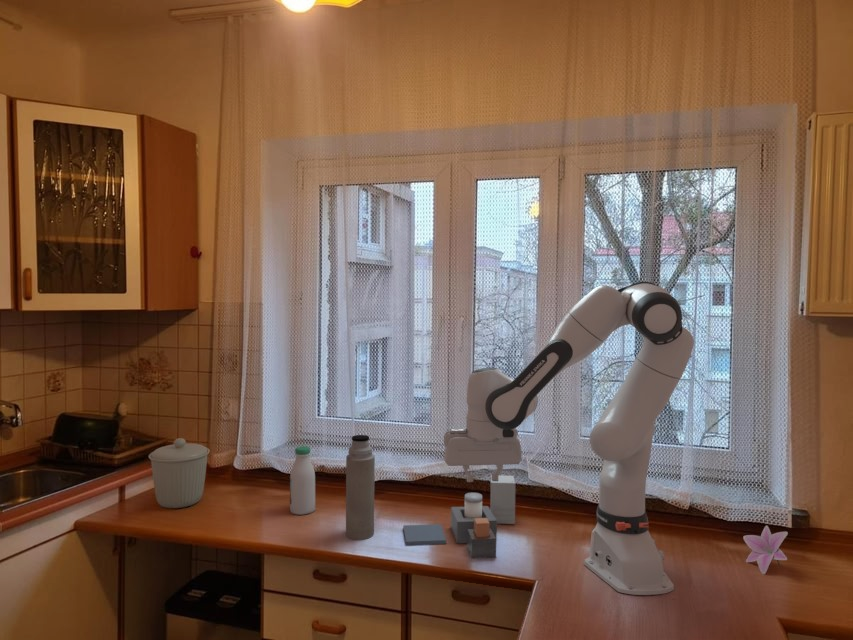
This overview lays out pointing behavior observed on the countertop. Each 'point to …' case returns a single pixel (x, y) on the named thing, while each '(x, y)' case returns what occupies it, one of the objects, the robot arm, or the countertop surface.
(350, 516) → the thermos bottle
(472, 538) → the frame
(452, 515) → the housing
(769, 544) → the lily
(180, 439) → the canister
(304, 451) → the milk bottle
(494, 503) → the supplement box
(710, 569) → the countertop surface
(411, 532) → the mat
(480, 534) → the plunger
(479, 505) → the cylinder
